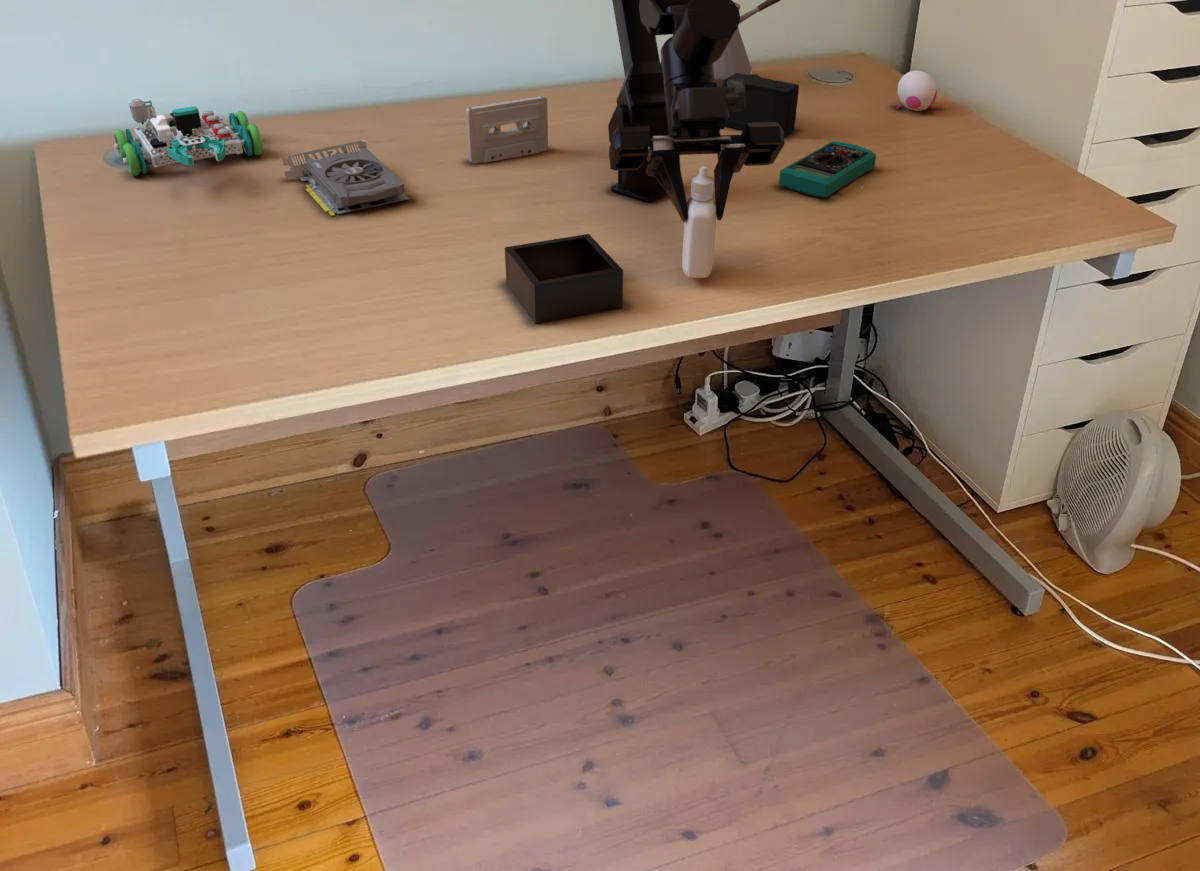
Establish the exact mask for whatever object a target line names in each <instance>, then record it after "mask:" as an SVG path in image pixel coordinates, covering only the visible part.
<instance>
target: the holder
mask: <svg viewBox="0 0 1200 871" xmlns="http://www.w3.org/2000/svg"><path fill="white" fill-rule="evenodd" d="M504 263H505V264H504V265H505V266H504V267H505V284H506V286H507V287H508V288H509V290H510V291H511V292H512V294H513V295H514V296H515V298H516V299H517V300H518V302H519V303H520V305H521V306H522V307H523V308H524V310H525V311H526V313H527V314H528V315H529V317H530V318H531V319H532V321H533V322H534V324H535V325H537V324H541V323H547V322H553V321H558V320H563V319H570V318H575V317H580V316H585V315H590V314H597V313H601V312H607V311H613V310H619V309H623V307H624V306H623V305H624V303H623V302H624V269H623V268H622V267H621V266H620V265H619V264H618V263H617V262H616V261H615V260H614V259H613V257H611V255H609V253H607V251H606V250H605V249H604V248H603V247H602V246H601V245H600V244H599V243H598V242H597V240H595V238H594V237H593V236H592V235H590V234H589V233H584V234H577V235H572V236H567V237H560V238H554V239H547V240H542V241H535V242H530V243H523V244H517V245H511V246H505V247H504Z"/></svg>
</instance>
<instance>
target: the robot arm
mask: <svg viewBox="0 0 1200 871" xmlns="http://www.w3.org/2000/svg"><path fill="white" fill-rule="evenodd" d="M734 2H735V1H733V0H612V1H611V3H612V7H613V13H614V14H613V15H614V19H615V25H616V32H617V36H618V42H619V43H618V44H619V49H620V54H621V61H622V68H623V73H624V80H623V82H622V85H621V87H620V90H619V92H618V95H617V97H616V106H615V109H614V111H613V113H612V115H611V118H610V120H609V122H608V124H607V130H608V141H609V147H608V159H609V169H610V170H612V171H614V172H617V182H616V183H615V184H612V185H611V186H610V191H611V192H614V193H617V194H620V195H624V196H626V197H630V198H633V199H637V200H641V201H644V202H647V203H648V202H649V203H650V202H652V201H654V200H656V199H658V198H660V197H662V196H664V195H666V194H667V195H668V197H669V199H670V200H671V203H672V204H673V206H674V208H675V211H677V214H678V215H679V217H680V219H681V221H682V222H683V223H684V222H687V220H688V210H687V201H688V200H687V196H686V192H685V191H686V190H685V187H684V181H683V175H682V171H681V170H682V169H681V156H688V155H691V156H692V155H693V156H694V155H717V163H716V165H715V167H714V169H713V180H714V188H713V189H714V201H715V204H716V221H722V219H723V217H724V213H725V208H726V204H727V200H728V196H729V190H730V187H731V182H732V178H733V176H734V174H737V173H740V172H741V171H742V168H743V167H744V166H745V167H752V166H753V167H754V166H755V167H757V166H769V165H772V164H774V163H775V161H776V160H777V158H778V156H780V155H779V154H780V153H781V151H782V149H783V148H784V147H785V145H786V143H785V137H784V133H783V129H782V128H781V127H780V125H779V124H778V123H777V122H762V123H746V125H745V127H744V130H742V132H741V134H724V135H723V134H722V135H721V130H725V129H726V127H727V126H726V119H728V118H729V112H733V111H742V110H744V109H745V105H746V95H745V86H744V79H729V80H727V81H725V82H724V87H718V86H717V82H715V77H714V67H713V63H714V62H716V61H717V60H718V59H719V58H720V57H721V55H722V53H723V52H724V50H725V48H726V47H727V45H728V43H729V42H730V40H731V38H732V36H733V35H734V33H735V31H736V30H737V28H738V29H739V26H740V23H739V22H740V16H741V12H740V9H738V7H737V6H736V5H735V3H736V2H735V3H734ZM666 35H667V36H668V35H672V36H670V37H669V38H667V40H665V42H664V43H663V45H662V46H661V48H660V52H659V48H658V47H659V46H658V42H657V37H656V36H666ZM660 57H661V58H660ZM725 118H726V119H725Z"/></svg>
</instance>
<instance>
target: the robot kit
mask: <svg viewBox="0 0 1200 871" xmlns="http://www.w3.org/2000/svg"><path fill="white" fill-rule="evenodd" d="M128 105H129V109H130V114H131V118H132V120H133V121H134V122H135V123H137V124H141V125H142V126H143V125H144V124H145V127H140V126H135V127H134V128H133V132H134V133H133V134H134V136H135V139H134V138H133V137H134V136H133V134H132V132H131V129H130V128H125V131H124V130H123V129H118V128H117V129H116V130H114V133H113V134H114V140H115V143H113V145H114V149H115V150H117V152H118V155H119V157H120V159H121V160H122V162H123V164H124V165H126V168H127V170H128V172H129V174H130V175H131V176H133V177H137V176H139V175H140V173H142V174H147V167H146V166H147V165H146V162H145V160H146V161H147V162H148V163H151V164H152V167H153V168H160V167H162V166H168V165H174V164H183V165H186V166H188V167H189V166H195V161H198V160H202V159H203V160H204V159H209V158H215V160H216V162H221V161H223V160H224V158H225V157H226V155H233V154H236V155H240V154H243V152H244V151H245V154H246V155H247V157H251V156H252V155H254V156H260V155H261V154H262V153H263V151H264V147H263V146H264V145H263V137H262V135H261V133H260V129H259V128H258V126H257V124H255V123H250V122H249V120H248V117H247V114H246V113H245V112H244V111H242V110H238V111H236V112H235V113H234V112H230V113H229V114H228V119H229V121H228V122H229V124H227V123H226V122H225V120H223V118H222V117H221V116H220V115H215V112H214V111H213V110H204V111H203V112H202V114H201V116H200V111H199V108H198V107H197V106H187V107H181V108H175V109H172V110H171V112H170V113H165V114H158V115H157V113H156V109H155V107H154V106H153V102H152V101H151V100H146V101H144V100H142V99H140V98H134V99H132V100H130V103H129V104H128ZM243 148H244V149H243ZM243 150H244V151H243Z"/></svg>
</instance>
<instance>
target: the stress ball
mask: <svg viewBox="0 0 1200 871" xmlns="http://www.w3.org/2000/svg"><path fill="white" fill-rule="evenodd" d="M898 81H899V82H898V84H897V96H898V99H899V101H900V104H898V105H896V109H897V110H899V108H900V107H901V105H903V106H904V107H905V108H907V109H909V110H910V111H915V112H921V111H925V110H927V109H937V107H935V106H932V105H934V102H935V100H936V99H937V94H938V88H937V84H936V82H935V80H934V79H933V77H932V76H931V75H930V74H928V73H927V72H924V71H922V70H910V71H908V72H906V73H905V74H904V75H902V77H901V78H900V80H898Z"/></svg>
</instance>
